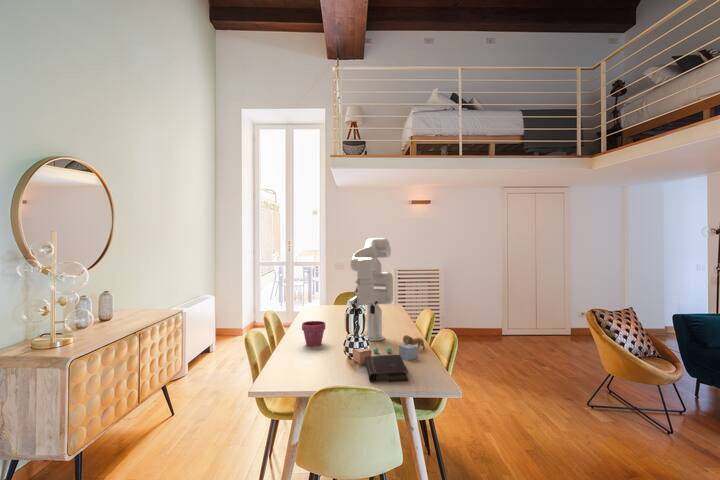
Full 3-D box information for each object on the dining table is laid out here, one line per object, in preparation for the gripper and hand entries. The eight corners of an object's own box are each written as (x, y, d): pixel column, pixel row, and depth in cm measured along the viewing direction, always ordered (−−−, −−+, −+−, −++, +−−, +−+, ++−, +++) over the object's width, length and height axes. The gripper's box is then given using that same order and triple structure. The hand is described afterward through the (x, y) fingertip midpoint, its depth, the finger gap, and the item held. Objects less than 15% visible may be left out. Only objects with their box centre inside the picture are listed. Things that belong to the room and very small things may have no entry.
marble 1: (373, 354, 215) (371, 349, 217) (377, 354, 216) (376, 350, 219) (375, 351, 213) (374, 346, 216) (380, 351, 215) (378, 346, 217)
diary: (369, 384, 173) (369, 372, 173) (365, 365, 198) (365, 355, 198) (410, 382, 174) (410, 371, 174) (401, 364, 199) (401, 354, 199)
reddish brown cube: (359, 364, 198) (359, 352, 198) (353, 360, 204) (352, 348, 204) (371, 361, 201) (371, 350, 201) (364, 358, 207) (364, 346, 207)
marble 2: (385, 351, 215) (384, 350, 218) (390, 354, 215) (389, 353, 218) (388, 346, 215) (387, 345, 218) (393, 349, 216) (392, 349, 219)
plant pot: (310, 339, 245) (310, 319, 245) (329, 342, 239) (329, 321, 238) (297, 345, 232) (297, 324, 232) (317, 348, 226) (317, 326, 226)
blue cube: (399, 356, 209) (398, 345, 209) (409, 354, 213) (409, 343, 213) (407, 360, 203) (407, 349, 203) (417, 358, 207) (417, 347, 207)
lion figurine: (405, 352, 217) (405, 336, 217) (400, 350, 222) (400, 334, 222) (427, 349, 223) (427, 333, 223) (422, 347, 228) (422, 331, 228)
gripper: (353, 284, 196) (353, 318, 197) (382, 282, 205) (382, 314, 205) (346, 282, 203) (346, 315, 203) (374, 280, 212) (374, 311, 212)
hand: (364, 314), depth 204 cm, fingers open, 9 cm apart
